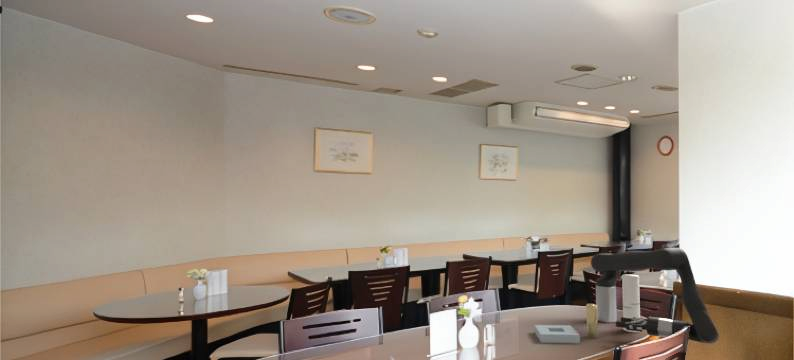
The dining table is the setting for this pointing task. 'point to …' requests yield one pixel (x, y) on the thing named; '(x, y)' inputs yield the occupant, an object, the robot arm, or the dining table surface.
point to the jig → (556, 334)
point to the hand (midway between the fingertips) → (618, 321)
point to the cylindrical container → (631, 297)
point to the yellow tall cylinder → (592, 321)
